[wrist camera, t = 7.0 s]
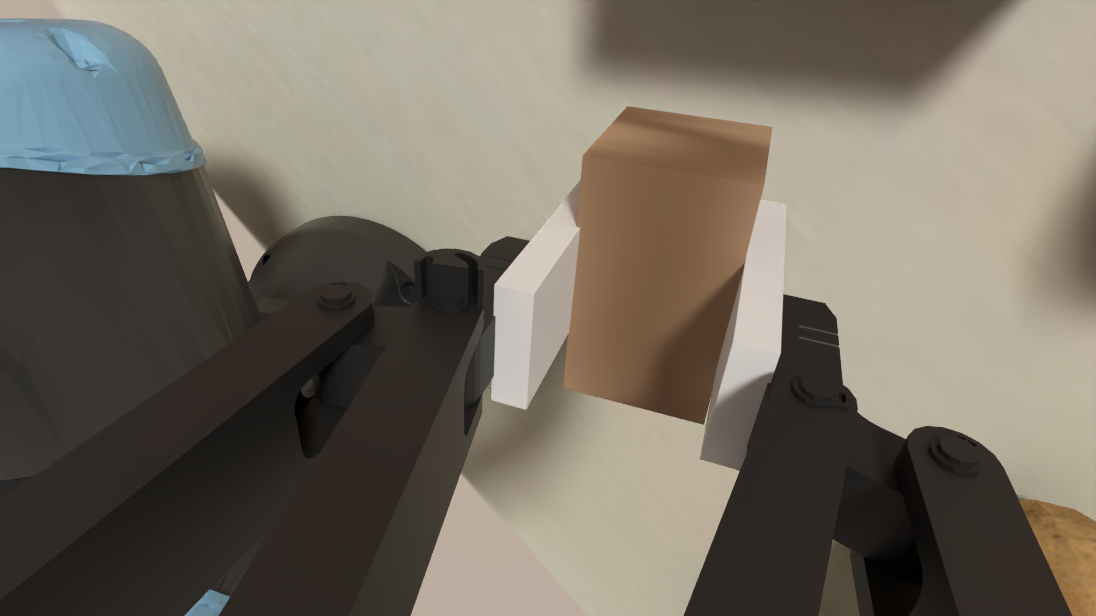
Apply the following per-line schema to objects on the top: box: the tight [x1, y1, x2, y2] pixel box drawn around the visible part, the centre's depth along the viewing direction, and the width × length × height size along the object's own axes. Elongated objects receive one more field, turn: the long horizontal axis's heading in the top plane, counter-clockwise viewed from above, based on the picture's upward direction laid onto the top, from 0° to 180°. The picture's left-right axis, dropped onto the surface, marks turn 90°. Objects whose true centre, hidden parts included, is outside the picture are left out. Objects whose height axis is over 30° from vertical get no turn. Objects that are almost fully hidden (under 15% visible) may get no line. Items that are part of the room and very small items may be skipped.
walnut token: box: [563, 106, 772, 425], centre depth 15 cm, size 4×6×4 cm, turn 177°
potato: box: [1019, 500, 1096, 616], centre depth 33 cm, size 10×14×8 cm
